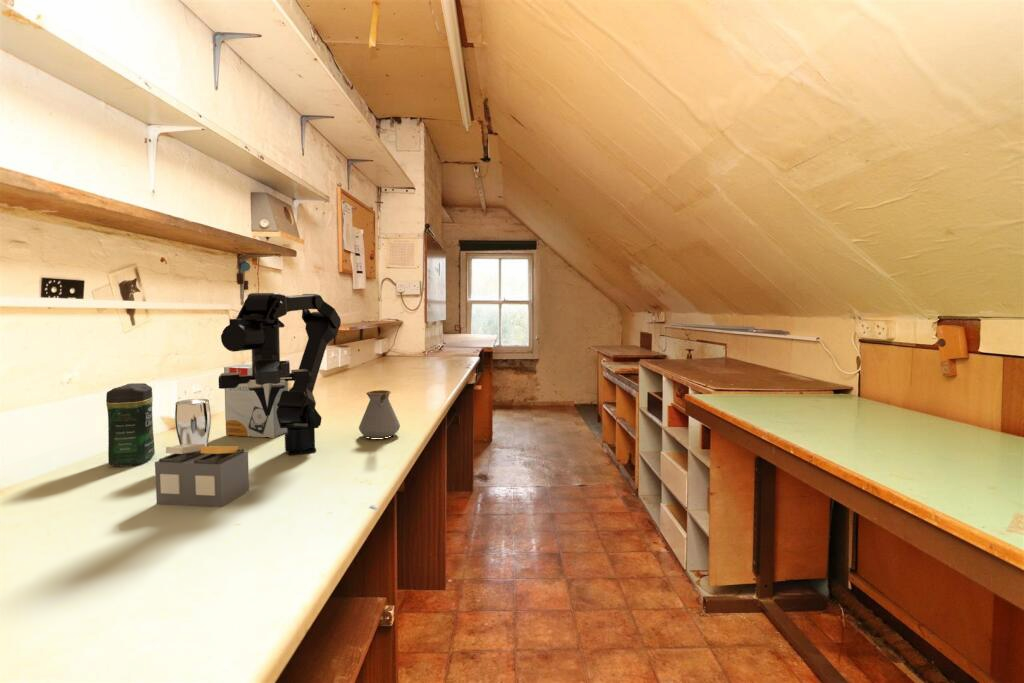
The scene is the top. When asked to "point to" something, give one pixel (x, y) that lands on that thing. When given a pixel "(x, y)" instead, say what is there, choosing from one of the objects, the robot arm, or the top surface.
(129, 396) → the coffee jar
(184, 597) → the top surface
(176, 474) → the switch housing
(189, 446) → the white rocker
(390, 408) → the coffee pot
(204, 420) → the beer glass
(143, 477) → the top surface
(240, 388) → the hard drive box
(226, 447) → the amber rocker
